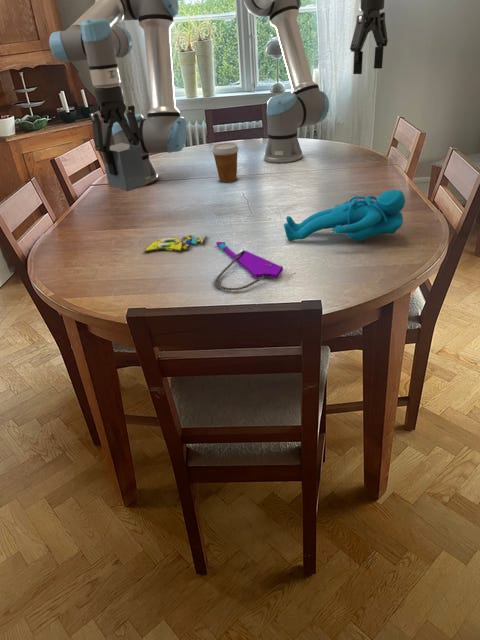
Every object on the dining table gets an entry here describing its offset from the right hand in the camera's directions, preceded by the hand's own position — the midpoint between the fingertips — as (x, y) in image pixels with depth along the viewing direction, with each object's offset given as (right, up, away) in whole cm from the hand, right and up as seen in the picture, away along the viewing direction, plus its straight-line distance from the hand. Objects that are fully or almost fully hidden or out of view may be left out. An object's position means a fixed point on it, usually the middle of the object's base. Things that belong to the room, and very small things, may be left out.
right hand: (367, 71), depth 162 cm
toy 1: (-61, -64, -32) cm, 94 cm away
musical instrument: (-45, -72, -47) cm, 97 cm away
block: (-77, -44, -18) cm, 90 cm away
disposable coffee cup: (-48, -33, +14) cm, 60 cm away
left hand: (-78, -40, -20) cm, 90 cm away
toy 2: (-17, -63, -37) cm, 75 cm away
